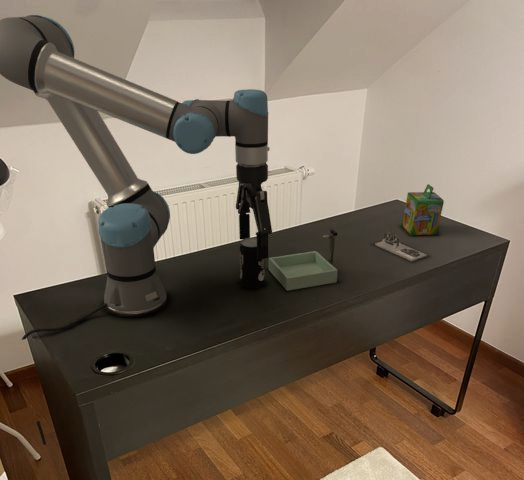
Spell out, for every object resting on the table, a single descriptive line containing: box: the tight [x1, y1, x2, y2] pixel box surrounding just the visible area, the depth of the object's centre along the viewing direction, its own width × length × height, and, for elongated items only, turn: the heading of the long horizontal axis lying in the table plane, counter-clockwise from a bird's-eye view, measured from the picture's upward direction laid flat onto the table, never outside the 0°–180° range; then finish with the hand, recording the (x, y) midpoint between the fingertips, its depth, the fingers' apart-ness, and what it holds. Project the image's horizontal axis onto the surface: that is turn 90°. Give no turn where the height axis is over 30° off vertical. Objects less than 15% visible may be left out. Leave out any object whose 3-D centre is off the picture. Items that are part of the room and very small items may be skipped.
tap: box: [322, 229, 338, 266], centre depth 144 cm, size 4×3×12 cm
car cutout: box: [374, 230, 428, 262], centre depth 159 cm, size 15×7×4 cm, turn 35°
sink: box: [268, 250, 339, 291], centre depth 144 cm, size 15×14×4 cm
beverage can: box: [239, 237, 266, 289], centre depth 137 cm, size 7×7×12 cm
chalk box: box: [401, 183, 445, 236], centre depth 170 cm, size 9×9×15 cm
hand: (253, 248), depth 135 cm, fingers open, 13 cm apart
